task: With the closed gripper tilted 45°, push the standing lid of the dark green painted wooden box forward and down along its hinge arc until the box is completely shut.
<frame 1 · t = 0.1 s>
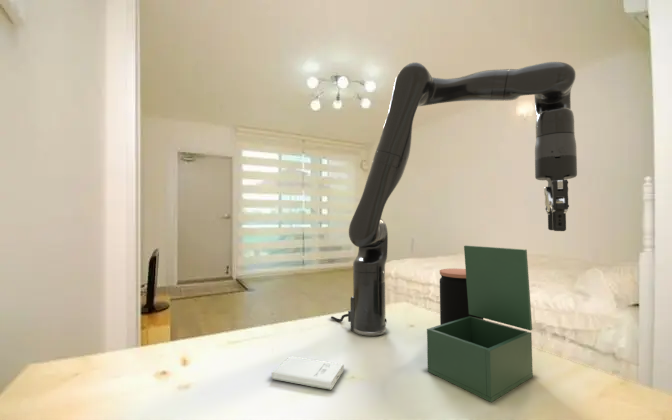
hand: (556, 230, 68), 29 cm above the table, tool pointing down, fingers open, 8 cm apart
coffee jar: (461, 340, 82), on the table
hard drive: (308, 376, 63), on the table
green lid: (495, 284, 68), point 17 cm above the table, hinge at 85.0°
green box: (479, 374, 64), on the table
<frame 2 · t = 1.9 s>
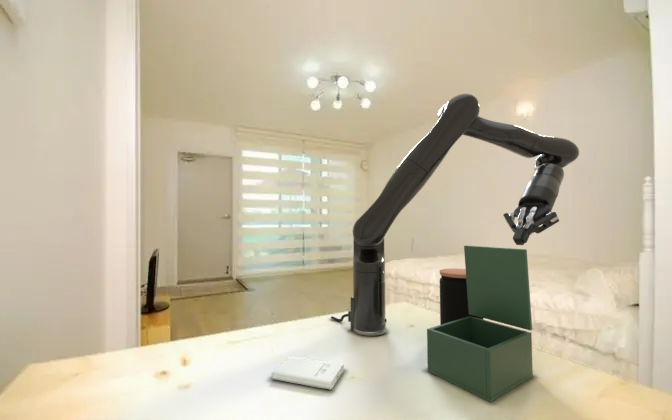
hand: (518, 242, 75), 26 cm above the table, tool tilted 45°, fingers closed
nothing on the table moved.
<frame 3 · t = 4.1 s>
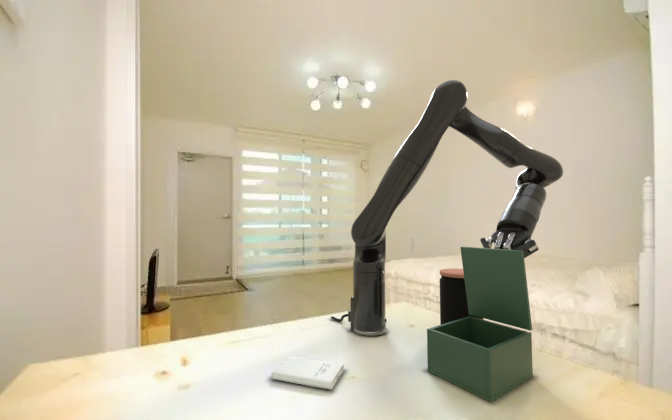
hand: (494, 273, 68), 20 cm above the table, tool tilted 45°, fingers closed
green lid: (493, 285, 68), point 17 cm above the table, hinge at 79.8°, touching gripper
everything else where it was.
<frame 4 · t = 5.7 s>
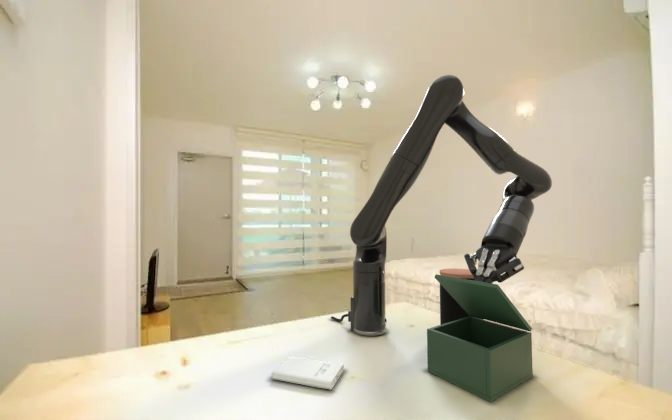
hand: (477, 293, 64), 16 cm above the table, tool tilted 45°, fingers closed
green lid: (481, 302, 65), point 14 cm above the table, hinge at 39.1°, touching gripper
everything else where it was.
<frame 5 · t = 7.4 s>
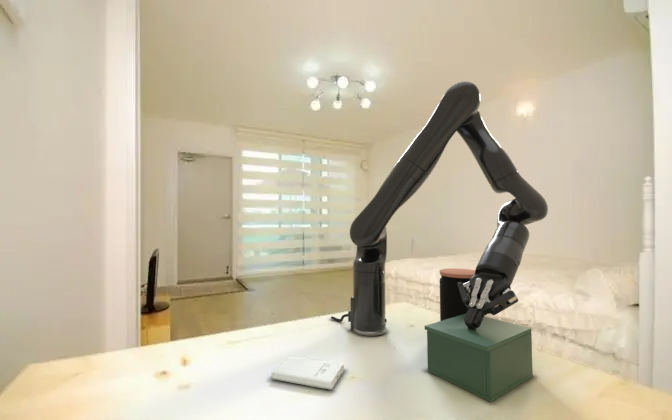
hand: (469, 326, 62), 10 cm above the table, tool tilted 45°, fingers closed
green lid: (477, 328, 64), point 9 cm above the table, hinge at -0.2°, touching green box, gripper
everything else where it was.
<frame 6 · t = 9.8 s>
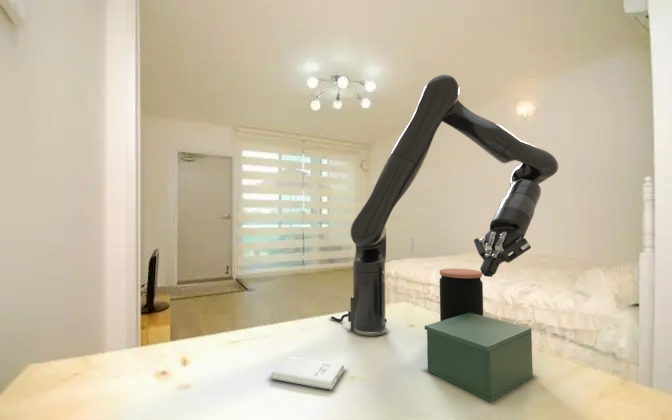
hand: (486, 274, 67), 20 cm above the table, tool tilted 45°, fingers closed
green lid: (477, 328, 64), point 9 cm above the table, hinge at -0.2°, touching green box
everything else where it was.
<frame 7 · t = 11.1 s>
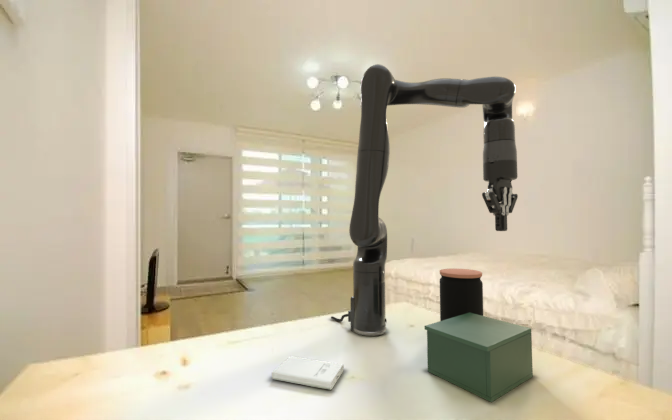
hand: (501, 230, 76), 29 cm above the table, tool pointing down, fingers closed
nothing on the table moved.
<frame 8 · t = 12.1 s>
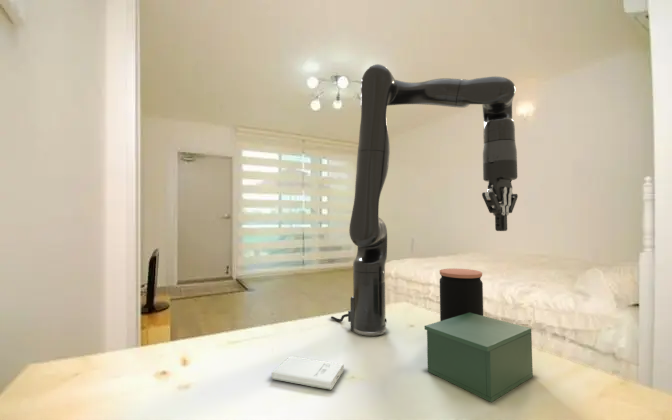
hand: (501, 230, 76), 29 cm above the table, tool pointing down, fingers closed
nothing on the table moved.
at the end: green lid at +0° (first picture: +85°); coffee jar moved 0.2 cm from its start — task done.
